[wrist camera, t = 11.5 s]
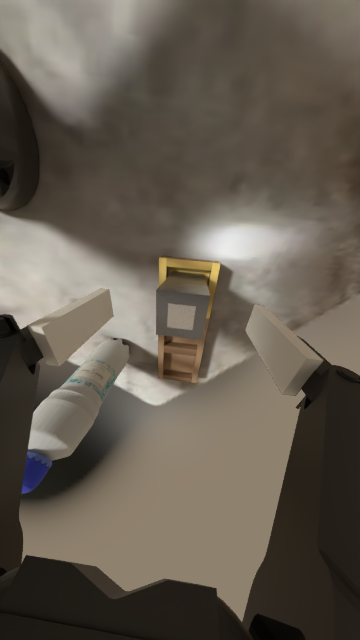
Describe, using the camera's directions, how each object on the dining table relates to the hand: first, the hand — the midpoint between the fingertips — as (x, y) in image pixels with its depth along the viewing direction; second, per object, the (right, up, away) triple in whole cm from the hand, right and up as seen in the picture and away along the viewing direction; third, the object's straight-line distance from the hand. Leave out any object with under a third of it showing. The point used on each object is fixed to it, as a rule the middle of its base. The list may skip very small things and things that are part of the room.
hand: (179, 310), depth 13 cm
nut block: (+1, +4, +8) cm, 9 cm away
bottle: (-13, -7, +17) cm, 22 cm away
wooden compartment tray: (+1, -2, +13) cm, 13 cm away
